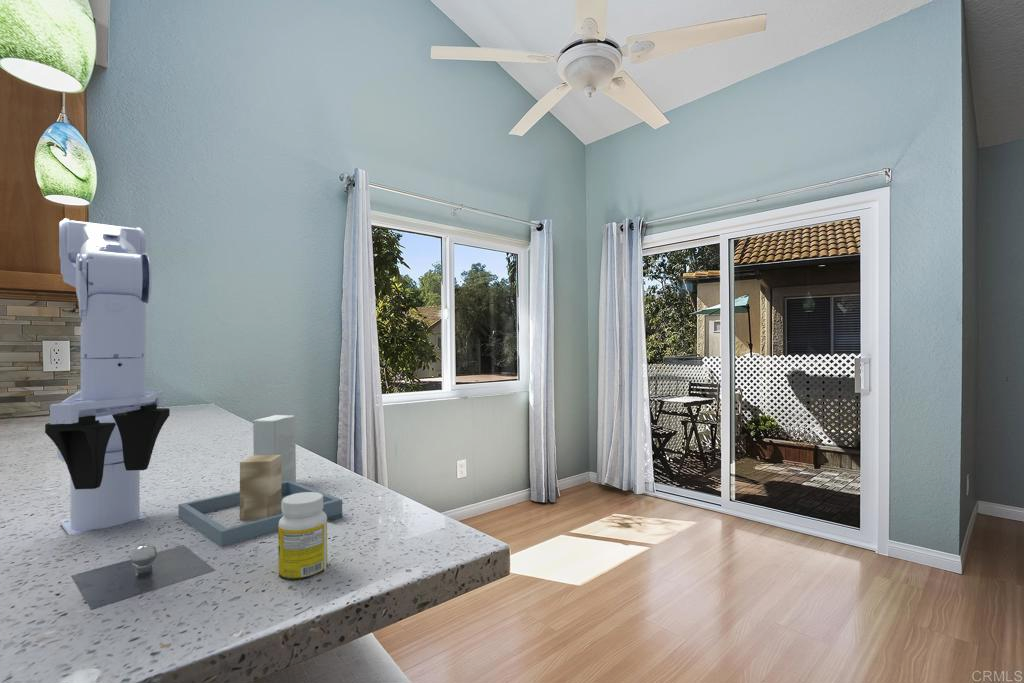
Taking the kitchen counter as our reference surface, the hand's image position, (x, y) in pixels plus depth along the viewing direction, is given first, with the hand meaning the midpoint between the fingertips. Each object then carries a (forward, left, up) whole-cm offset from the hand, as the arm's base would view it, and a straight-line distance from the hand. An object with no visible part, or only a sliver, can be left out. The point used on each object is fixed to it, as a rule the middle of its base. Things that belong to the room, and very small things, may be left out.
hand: (113, 478), depth 55 cm
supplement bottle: (+20, +12, -10) cm, 25 cm away
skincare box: (-16, +25, -10) cm, 31 cm away
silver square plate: (+8, +1, -9) cm, 12 cm away
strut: (-1, +17, -9) cm, 19 cm away
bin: (-1, +17, -9) cm, 19 cm away
